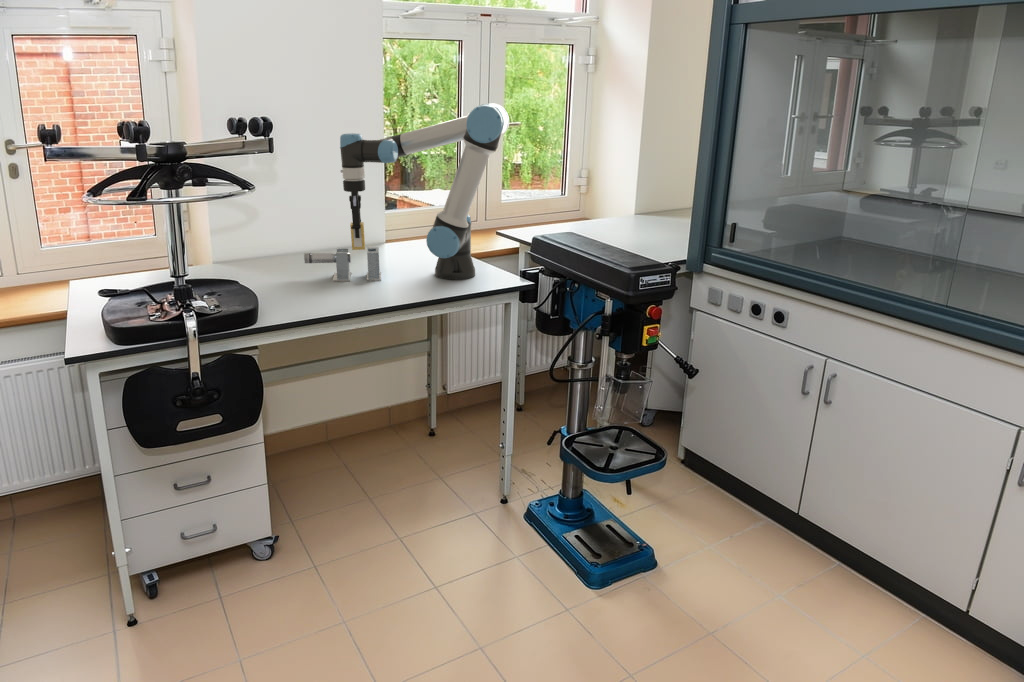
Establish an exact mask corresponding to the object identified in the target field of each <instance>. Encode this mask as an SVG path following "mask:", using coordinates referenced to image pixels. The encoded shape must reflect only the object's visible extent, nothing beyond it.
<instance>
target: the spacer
mask: <svg viewBox="0 0 1024 682" xmlns="http://www.w3.org/2000/svg"><path fill="white" fill-rule="evenodd" d="M357 225H358V224H357ZM360 226H361V237H362V247H354V235H353V229H351V227H353V222H350V237H351V249H352V251H357V250H361V251H363V250H366V238H365V236H366V235H365V222H364V221H363V222H362V221H361V222H360Z"/></svg>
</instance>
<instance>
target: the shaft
mask: <svg viewBox="0 0 1024 682" xmlns="http://www.w3.org/2000/svg"><path fill="white" fill-rule="evenodd" d="M303 257H304V258H303V259H304V264H336V252H306V253H305V252H304V253H303ZM351 258H352V257H351V252H348V263H349V264H351V262H352V259H351Z"/></svg>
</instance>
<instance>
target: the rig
mask: <svg viewBox="0 0 1024 682" xmlns="http://www.w3.org/2000/svg"><path fill="white" fill-rule="evenodd" d="M335 253H336V263H335V264H336V272H334V274H333V278H332V282H335V283H336V282H351V277H352V272H351V271H350V263H348V253H349V247H337V248H336V251H335ZM366 255H367V257H366V259H367V275H366V282H374V281H376V282H377V281H379V282H382V272H381V271H380V269H381V268H380V249H379V246H377V247H375V246H373V247H372V246H370V247H367V252H366Z"/></svg>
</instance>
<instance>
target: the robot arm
mask: <svg viewBox="0 0 1024 682" xmlns="http://www.w3.org/2000/svg"><path fill="white" fill-rule="evenodd" d="M509 126H510V117H509V114H508V112H507V110H506V109H505V108H504V107H503V106H502V105H500V104H498V103H494V102H493V103H491V102H490V103H483V104H479V105H477V106H476V107H474V108H473V109H472V110H471V111H469V112H468V114H467V115H466V116H462V117H458V118H455V119H451V120H447V121H443V122H440V123H436V124H431V125H429V126H425V127H420V128H418V129H415V130H414V129H413V130H410V131H407V132H403V133H400V134H396V135H392V136H387V137H385V138H381V139H372V140H371V139H363V136H362V134H361V133H353V132H351V133H342V134H341V135H340V136H339V141H340V143H339V148H340V157H341V160H340V161H341V168H342V169H340V171H339V172H340V173H342V179H343V181H342V184H343V191H344V192H347V193H349V192H350V195H349V196H348V198H349V199H348V200H349V203H350V210H351V216H352V221H351V222H352V223H353V227H350V230H351V229H353V235H354V247H362V237H361V226H360V222H362V218H361V207H362V203H361V201H362V195H360V194H359V192H364V191H366V180H365V178H366V177H365V176H366V174H365V164H364V163H375V164H382V163H383V164H389V163H390V164H391V163H392V164H393V163H395V162H397V160H398V158H401V157H405V156H407V155H412V154H416V153H420V152H423V151H426V150H430V149H435V148H439V147H443V146H446V145H450V144H453V143H458V142H462V141H464V144H465V146H464V150H463V151H462V155H461V158H460V161H459V163H458V166H457V169H456V173H455V176H454V178H453V181H452V184H451V186H450V189H449V192H448V196H447V198H446V200H445V204H444V207H443V210H441V211H440V212H437V214H436V216H435V220H434V222H433V226H432V227H431V229H430V230H429V231H428V233H427V234H426V235H427V236H426V239H425V240H426V241H425V242H426V246H427V248H428V250H429V251H430V253H431V254H432V255H434V256H435V257H437V258H438V259H437V262H436V265H435V268H434V275H435V276H436V277H437V278H440V279H445V280H453V281H454V280H458V281H459V280H467V279H471V278H473V277H475V276H476V268H475V266H474V261H473V258H472V254H471V253H472V251H471V249H472V248H471V247H472V246H471V245H472V244H471V243H472V241H471V239H472V221H471V219H472V218H471V216H470V215H469V213H470V210H471V207H472V205H473V202H474V199H475V196H476V194H477V191H478V188H479V185H480V183H481V180H482V177H483V174H484V171H485V169H486V166H487V162H488V161H489V157H490V155H492V154H493V153H495V152H496V151H497V149H498V146H499V143H500V140H501V139H502V138H501V137H502V136H503V135H505V133H506V132H507V131H508V128H509ZM357 224H358V225H357Z"/></svg>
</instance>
